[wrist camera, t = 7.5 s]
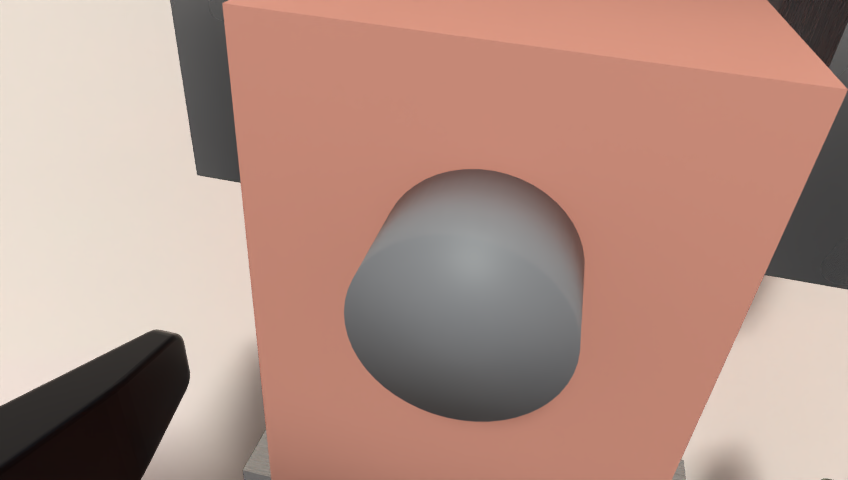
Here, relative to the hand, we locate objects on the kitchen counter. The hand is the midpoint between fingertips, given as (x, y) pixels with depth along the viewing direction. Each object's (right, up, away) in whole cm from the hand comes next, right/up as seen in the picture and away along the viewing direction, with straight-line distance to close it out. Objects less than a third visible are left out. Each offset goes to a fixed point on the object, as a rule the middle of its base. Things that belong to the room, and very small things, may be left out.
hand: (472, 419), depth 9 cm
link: (+1, +1, +2) cm, 2 cm away
